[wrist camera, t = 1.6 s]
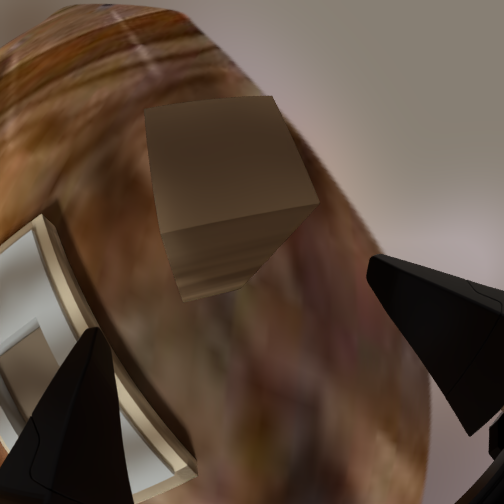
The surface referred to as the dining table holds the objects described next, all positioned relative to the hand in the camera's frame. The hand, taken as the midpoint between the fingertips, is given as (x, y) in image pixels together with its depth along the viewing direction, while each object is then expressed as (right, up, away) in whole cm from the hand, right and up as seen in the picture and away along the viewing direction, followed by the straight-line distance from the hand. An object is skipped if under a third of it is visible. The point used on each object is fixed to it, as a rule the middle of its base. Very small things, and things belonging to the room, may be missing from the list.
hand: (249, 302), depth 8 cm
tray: (-15, -8, +6) cm, 18 cm away
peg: (-3, 0, +11) cm, 11 cm away
